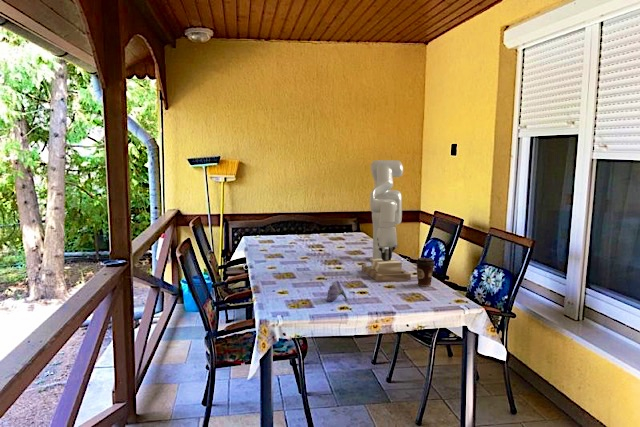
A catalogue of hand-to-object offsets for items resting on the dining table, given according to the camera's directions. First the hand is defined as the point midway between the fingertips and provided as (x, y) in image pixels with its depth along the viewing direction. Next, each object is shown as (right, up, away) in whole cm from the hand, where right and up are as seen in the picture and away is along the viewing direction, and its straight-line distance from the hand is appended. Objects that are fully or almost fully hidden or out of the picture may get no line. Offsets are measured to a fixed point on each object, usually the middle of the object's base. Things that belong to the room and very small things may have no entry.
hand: (386, 259), depth 253 cm
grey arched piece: (-28, -14, -44) cm, 53 cm away
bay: (0, -8, +2) cm, 9 cm away
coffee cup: (+16, -11, -17) cm, 26 cm away
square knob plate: (0, -9, +1) cm, 9 cm away
